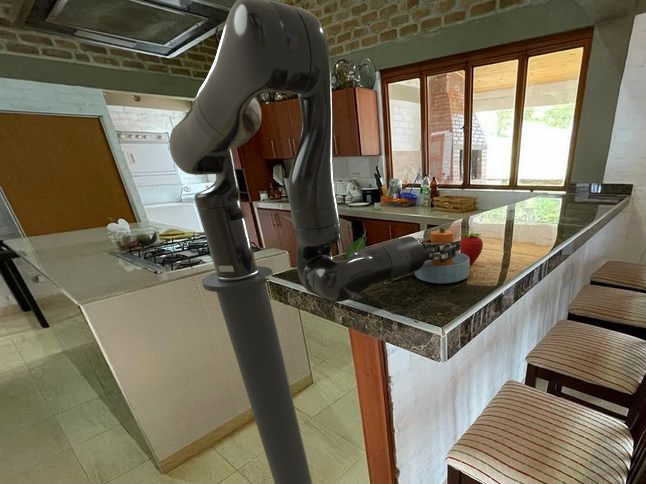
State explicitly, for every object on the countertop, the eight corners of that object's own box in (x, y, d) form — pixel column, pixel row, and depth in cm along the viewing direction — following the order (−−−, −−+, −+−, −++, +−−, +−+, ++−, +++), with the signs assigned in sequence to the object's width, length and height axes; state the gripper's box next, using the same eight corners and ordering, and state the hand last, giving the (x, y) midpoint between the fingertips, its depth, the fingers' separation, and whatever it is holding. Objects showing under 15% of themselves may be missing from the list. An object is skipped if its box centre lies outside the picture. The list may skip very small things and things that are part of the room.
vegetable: (426, 270, 80) (426, 228, 76) (439, 265, 84) (439, 225, 79) (444, 274, 77) (445, 230, 73) (456, 269, 81) (458, 227, 76)
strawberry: (461, 269, 86) (462, 230, 81) (457, 261, 92) (458, 224, 88) (484, 268, 86) (486, 229, 81) (478, 260, 92) (481, 223, 88)
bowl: (403, 278, 80) (403, 260, 78) (435, 265, 89) (435, 248, 87) (448, 289, 73) (449, 269, 71) (478, 273, 82) (479, 256, 80)
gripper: (422, 245, 62) (474, 230, 73) (373, 235, 71) (426, 223, 82) (423, 283, 66) (473, 263, 77) (376, 269, 75) (427, 253, 86)
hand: (448, 243), depth 79 cm, fingers closed on vegetable, 5 cm apart
